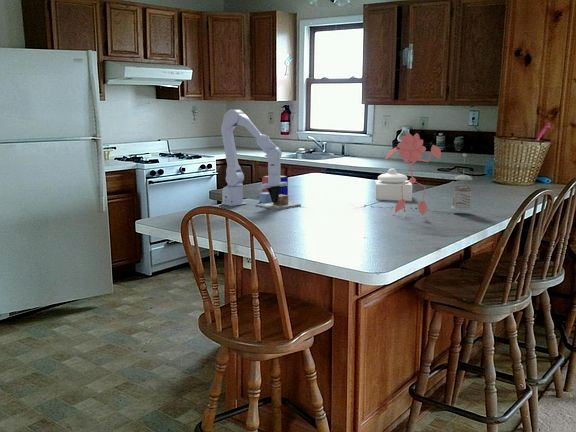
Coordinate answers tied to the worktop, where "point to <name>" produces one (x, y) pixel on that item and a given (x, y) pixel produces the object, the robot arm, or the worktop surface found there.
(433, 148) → the figurine
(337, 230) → the worktop surface
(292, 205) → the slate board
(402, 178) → the white lidded canister
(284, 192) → the puzzle cube
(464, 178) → the french press
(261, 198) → the blue cube
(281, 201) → the walnut block
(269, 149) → the robot arm
